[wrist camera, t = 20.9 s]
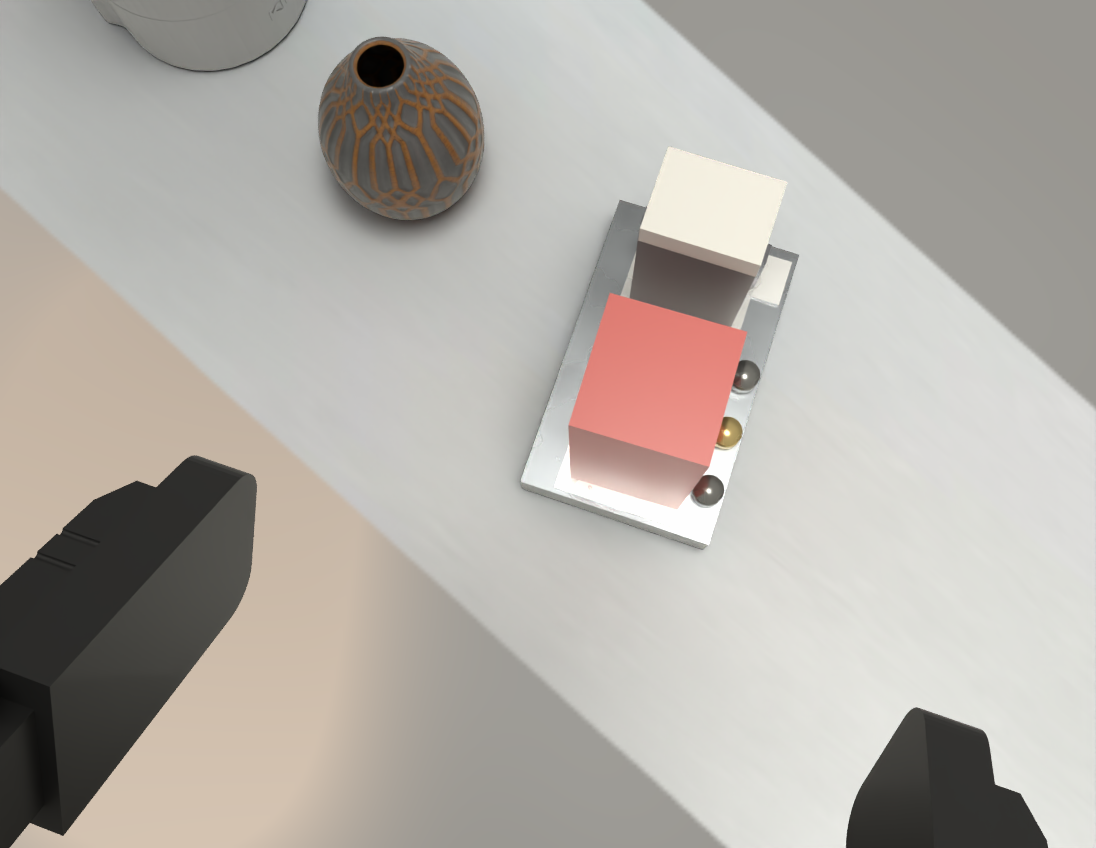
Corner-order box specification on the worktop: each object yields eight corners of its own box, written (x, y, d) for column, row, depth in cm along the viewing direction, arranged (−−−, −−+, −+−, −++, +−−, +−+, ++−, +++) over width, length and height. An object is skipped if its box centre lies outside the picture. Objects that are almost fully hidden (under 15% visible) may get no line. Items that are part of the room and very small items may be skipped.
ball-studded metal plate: (702, 549, 43) (719, 537, 38) (522, 488, 43) (516, 468, 38) (789, 271, 45) (815, 226, 40) (617, 218, 46) (622, 168, 41)
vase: (344, 102, 48) (294, -17, 39) (491, 102, 47) (473, -19, 39) (336, 241, 46) (282, 149, 38) (489, 241, 46) (469, 148, 37)
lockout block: (570, 477, 41) (568, 425, 31) (602, 374, 42) (609, 292, 32) (677, 509, 41) (709, 466, 31) (707, 405, 42) (747, 331, 32)
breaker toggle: (717, 354, 42) (760, 265, 32) (625, 325, 42) (639, 228, 32) (738, 288, 42) (787, 182, 33) (647, 260, 43) (668, 146, 33)
